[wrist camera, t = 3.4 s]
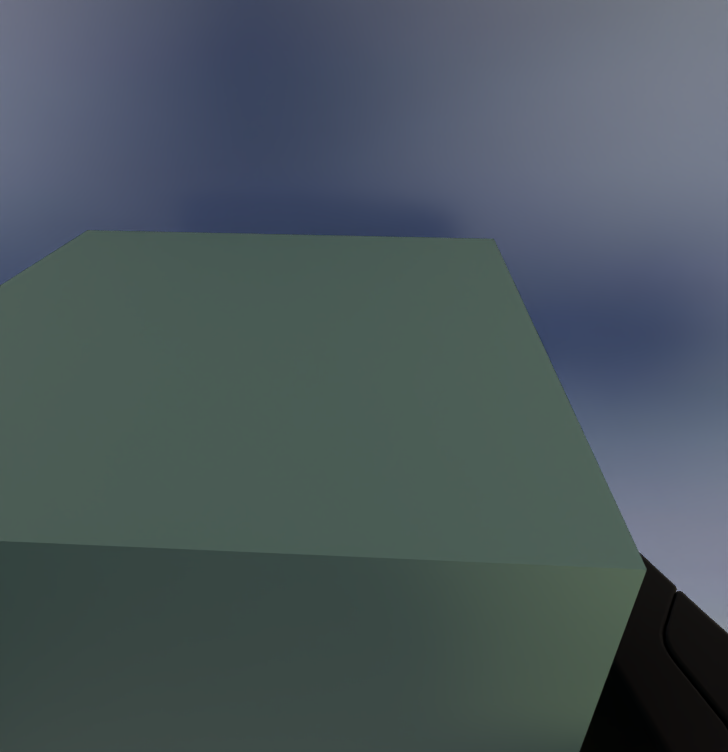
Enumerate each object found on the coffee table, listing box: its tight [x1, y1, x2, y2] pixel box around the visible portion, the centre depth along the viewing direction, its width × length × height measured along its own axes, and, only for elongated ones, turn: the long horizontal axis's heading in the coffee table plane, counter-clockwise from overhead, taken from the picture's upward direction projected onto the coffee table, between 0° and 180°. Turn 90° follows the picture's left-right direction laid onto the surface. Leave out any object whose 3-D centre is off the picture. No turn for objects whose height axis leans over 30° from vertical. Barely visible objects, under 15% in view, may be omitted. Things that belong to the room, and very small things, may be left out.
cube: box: [0, 230, 647, 752], centre depth 7 cm, size 6×6×6 cm
